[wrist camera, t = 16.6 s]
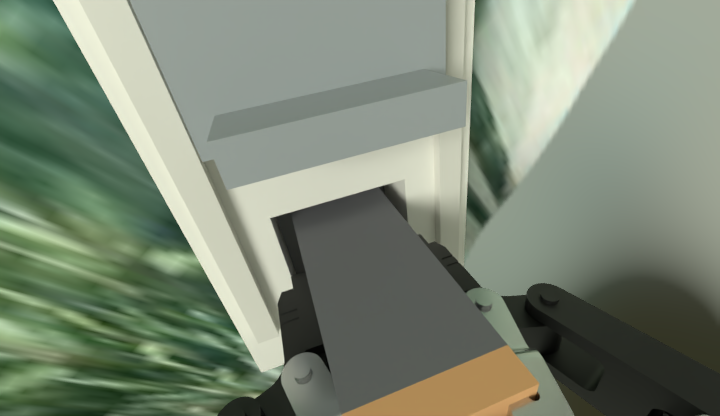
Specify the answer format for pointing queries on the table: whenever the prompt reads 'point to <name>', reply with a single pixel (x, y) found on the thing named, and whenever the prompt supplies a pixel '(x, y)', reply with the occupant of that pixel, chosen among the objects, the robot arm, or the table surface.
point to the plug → (400, 318)
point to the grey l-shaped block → (303, 78)
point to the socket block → (275, 195)
